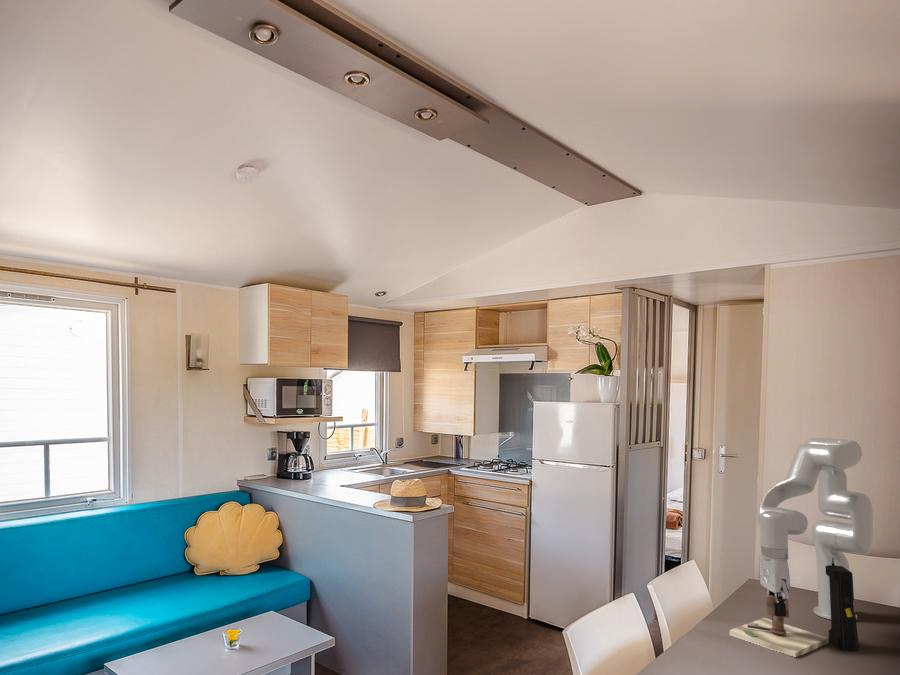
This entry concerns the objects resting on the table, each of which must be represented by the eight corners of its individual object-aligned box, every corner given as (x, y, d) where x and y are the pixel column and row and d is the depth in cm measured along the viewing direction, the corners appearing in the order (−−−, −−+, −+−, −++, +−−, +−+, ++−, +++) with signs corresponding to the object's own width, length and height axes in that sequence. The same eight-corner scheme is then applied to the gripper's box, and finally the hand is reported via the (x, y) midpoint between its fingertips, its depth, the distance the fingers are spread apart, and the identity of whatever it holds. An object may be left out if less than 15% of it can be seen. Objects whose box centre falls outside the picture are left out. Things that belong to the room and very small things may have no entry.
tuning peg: (788, 632, 190) (787, 596, 191) (789, 637, 186) (788, 600, 187) (747, 625, 195) (746, 590, 196) (747, 630, 191) (746, 594, 192)
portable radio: (861, 652, 180) (857, 564, 182) (839, 651, 181) (835, 563, 183) (850, 642, 187) (846, 558, 190) (828, 640, 189) (824, 556, 191)
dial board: (764, 622, 203) (763, 617, 204) (828, 642, 187) (828, 637, 187) (729, 635, 192) (729, 629, 192) (795, 658, 176) (795, 651, 176)
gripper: (750, 545, 200) (752, 604, 199) (775, 559, 184) (777, 623, 182) (773, 546, 200) (775, 604, 198) (801, 559, 184) (803, 623, 182)
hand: (776, 612), depth 190 cm, fingers closed on tuning peg, 3 cm apart
